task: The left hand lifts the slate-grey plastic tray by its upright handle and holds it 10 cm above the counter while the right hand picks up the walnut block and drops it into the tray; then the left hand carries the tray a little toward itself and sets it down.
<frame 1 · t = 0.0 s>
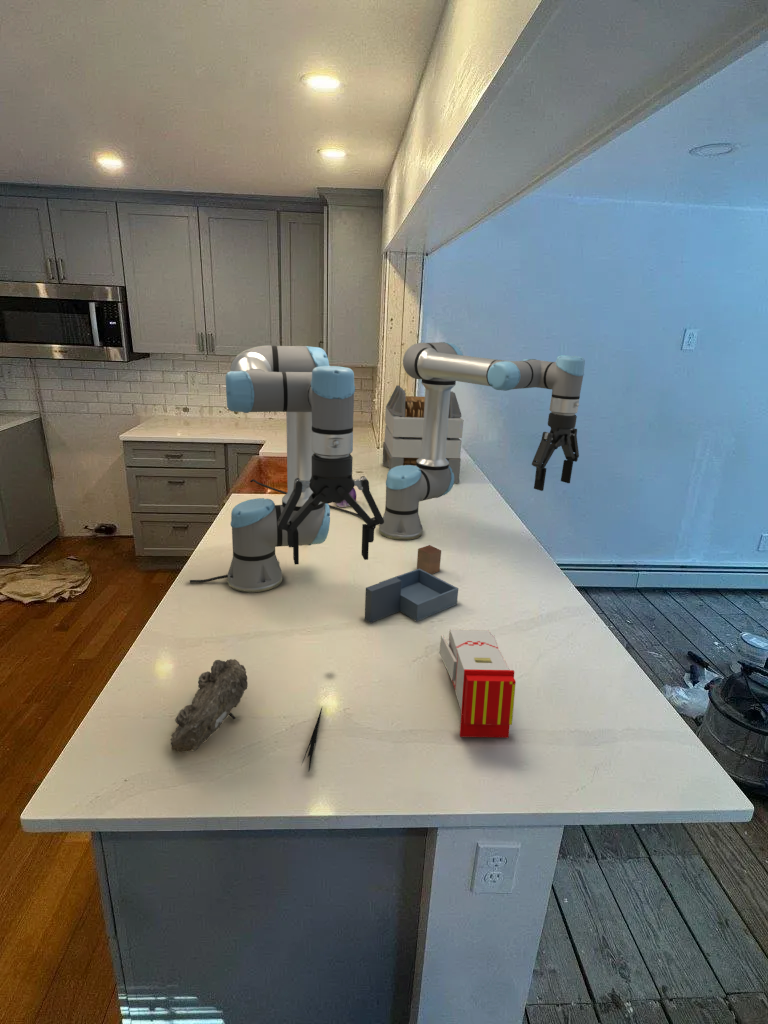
left hand: (330, 559, 111), 28 cm above the counter, fingers open, 13 cm apart
right hand: (552, 485, 166), 28 cm above the counter, fingers open, 13 cm apart
figurine: (345, 504, 227), on the counter
toy: (471, 691, 119), on the counter
figurine character: (293, 536, 193), on the counter
grey slatted box: (418, 473, 275), on the counter
block: (428, 570, 173), on the counter
fossil: (215, 716, 108), on the counter
feather: (319, 719, 109), on the counter
tray: (417, 601, 154), on the counter
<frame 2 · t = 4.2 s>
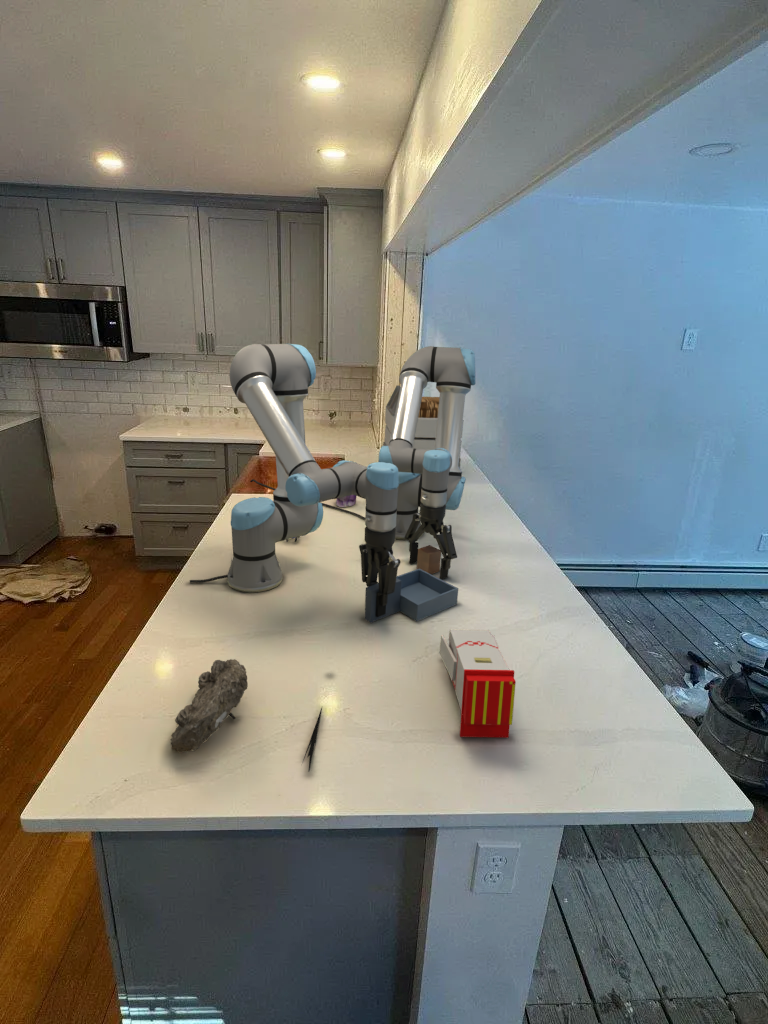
left hand: (376, 612, 145), 2 cm above the counter, fingers closed on tray, 2 cm apart
right hand: (428, 570, 173), 0 cm above the counter, fingers open, 12 cm apart
tray: (417, 601, 154), on the counter, touching left hand
everything else where it was.
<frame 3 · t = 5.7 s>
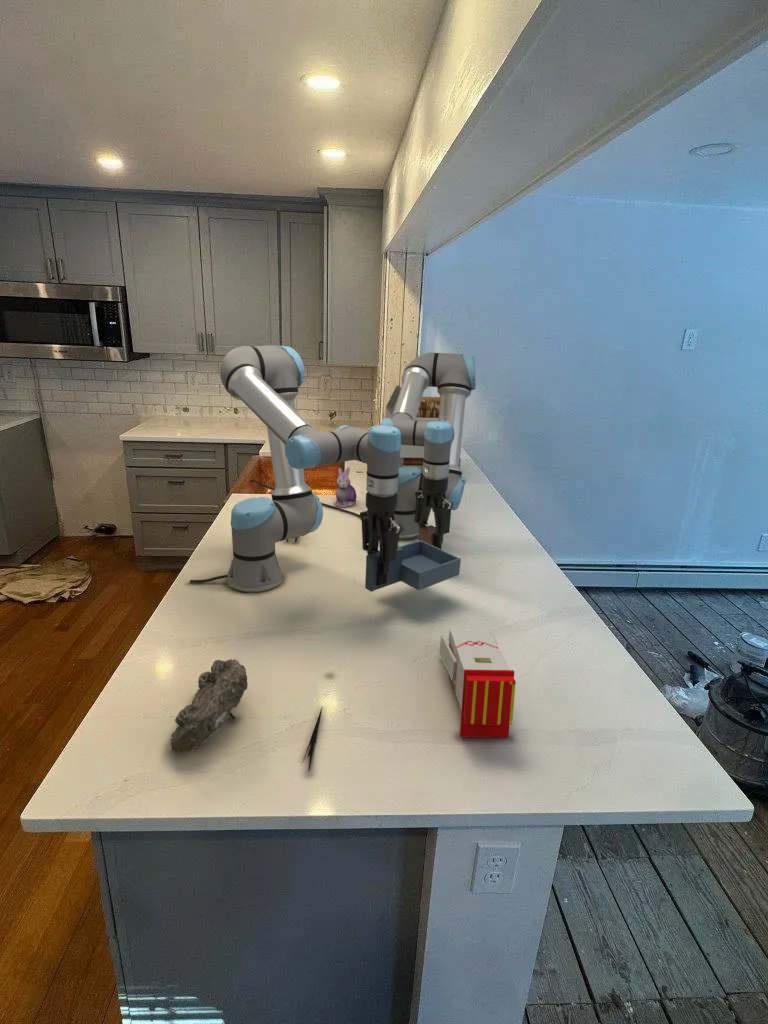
left hand: (377, 581, 142), 10 cm above the counter, fingers closed on tray, 2 cm apart
right hand: (429, 549, 171), 7 cm above the counter, fingers closed on block, 5 cm apart
block: (429, 550, 171), point 6 cm above the counter, touching right hand
tray: (418, 571, 152), point 9 cm above the counter, touching left hand
everything else where it was.
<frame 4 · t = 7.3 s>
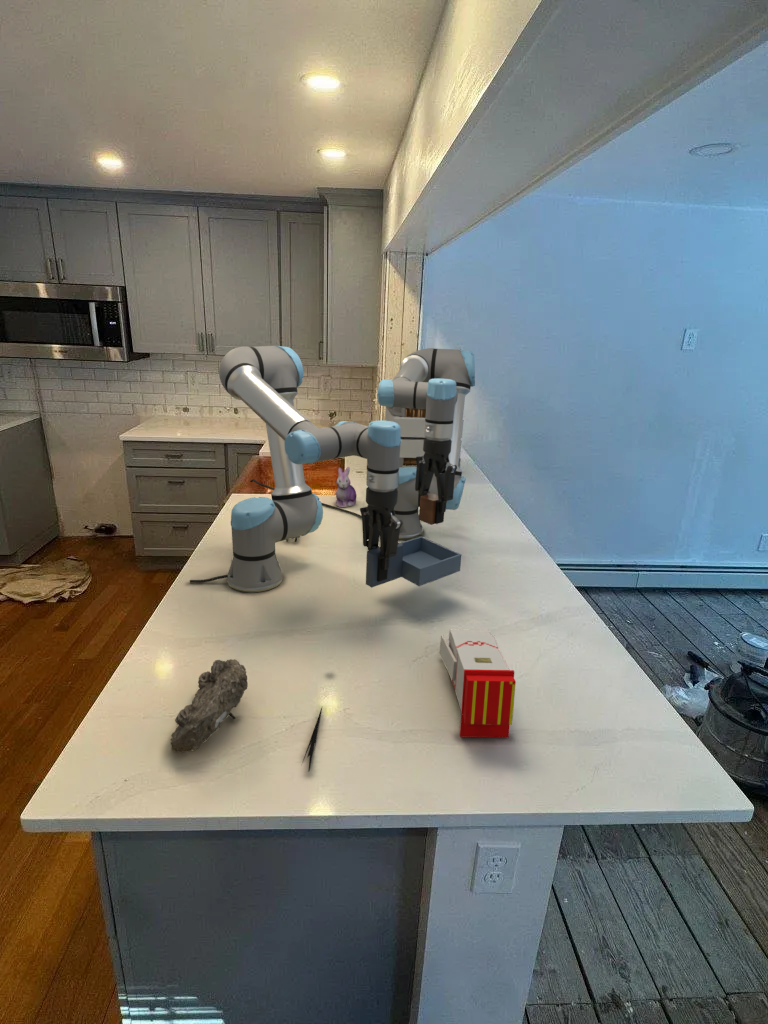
left hand: (378, 577, 142), 11 cm above the counter, fingers closed on tray, 2 cm apart
right hand: (431, 519, 159), 19 cm above the counter, fingers closed on block, 5 cm apart
block: (431, 520, 159), point 19 cm above the counter, touching right hand
tray: (419, 568, 151), point 10 cm above the counter, touching left hand
everything else where it was.
when the right hand's fingers open (15 cm above the counter, at t = 9.3 s): block drops 4 cm, resting on tray.
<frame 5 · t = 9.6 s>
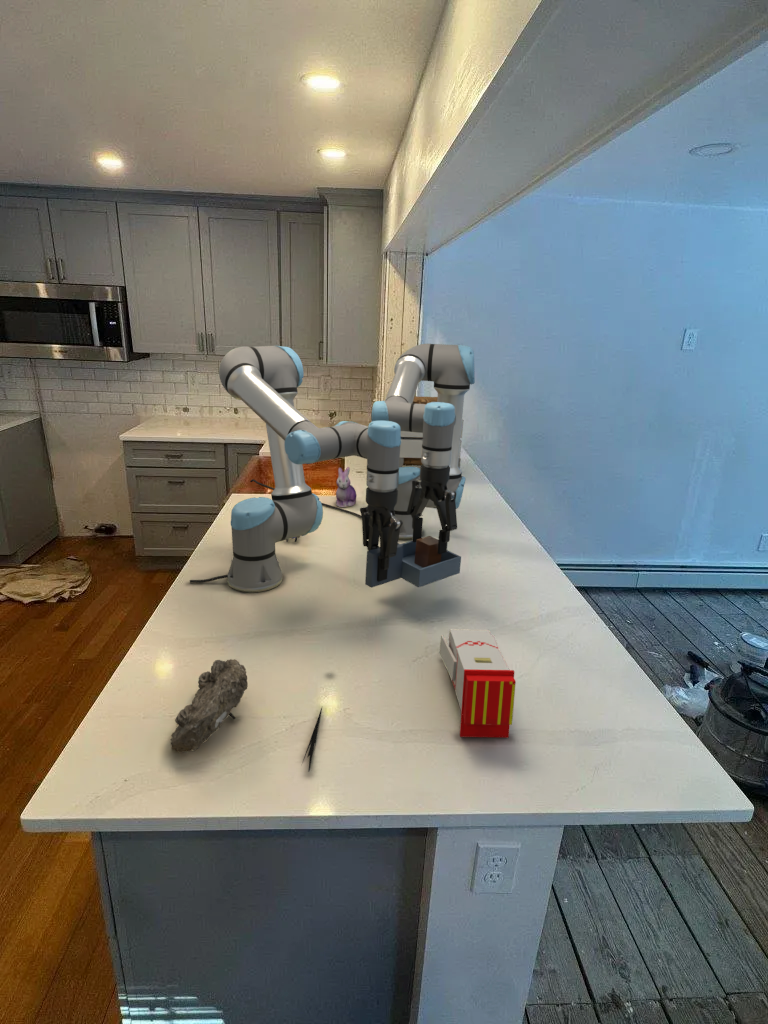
left hand: (378, 577, 142), 11 cm above the counter, fingers closed on tray, 2 cm apart
right hand: (429, 546, 151), 15 cm above the counter, fingers open, 9 cm apart
block: (427, 564, 153), point 10 cm above the counter, touching tray
tray: (419, 569, 151), point 10 cm above the counter, touching block, left hand
everything else where it was.
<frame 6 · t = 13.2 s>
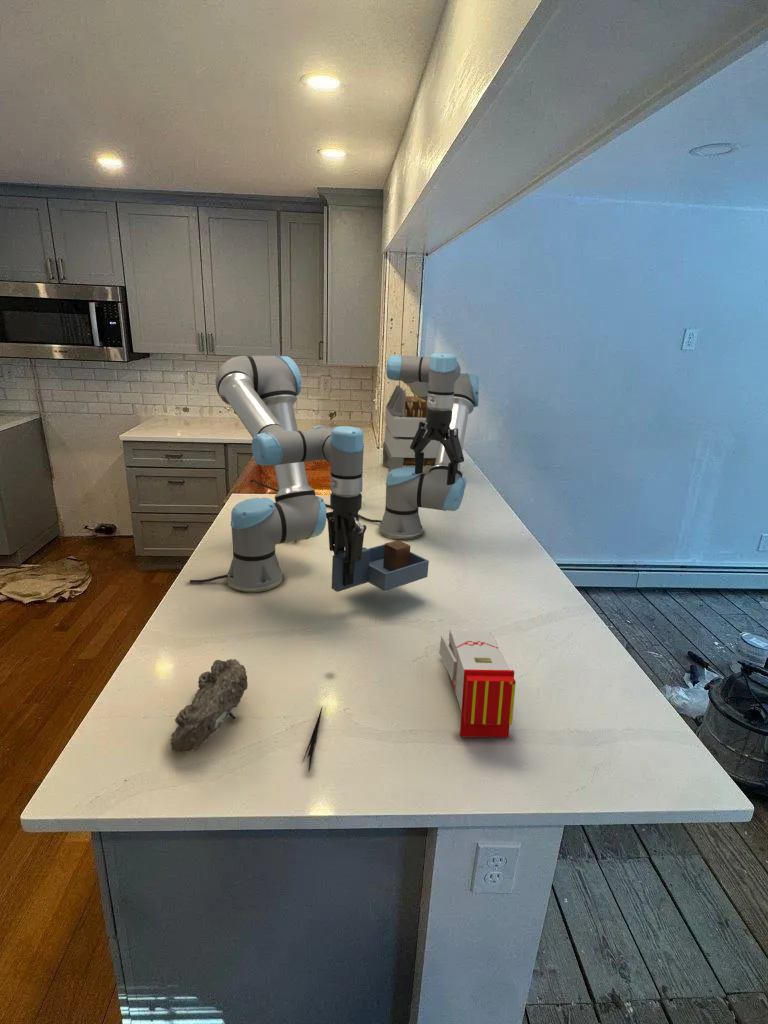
left hand: (344, 581, 143), 10 cm above the counter, fingers closed on tray, 2 cm apart
right hand: (434, 478, 172), 27 cm above the counter, fingers open, 13 cm apart
block: (395, 568, 154), point 8 cm above the counter, touching tray
tray: (387, 573, 152), point 8 cm above the counter, touching block, left hand
everything else where it was.
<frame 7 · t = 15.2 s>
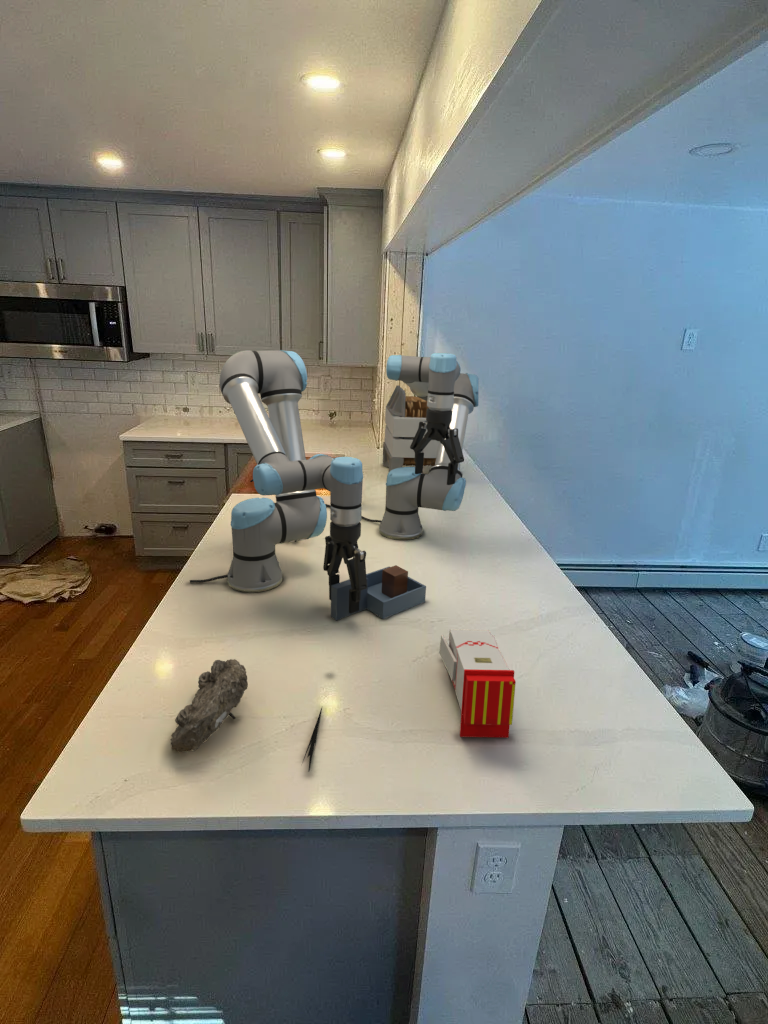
left hand: (343, 604, 145), 3 cm above the counter, fingers open, 8 cm apart
right hand: (434, 478, 172), 27 cm above the counter, fingers open, 13 cm apart
block: (394, 593, 156), point 1 cm above the counter, touching tray
tray: (385, 598, 155), on the counter, touching block
everything else where it was.
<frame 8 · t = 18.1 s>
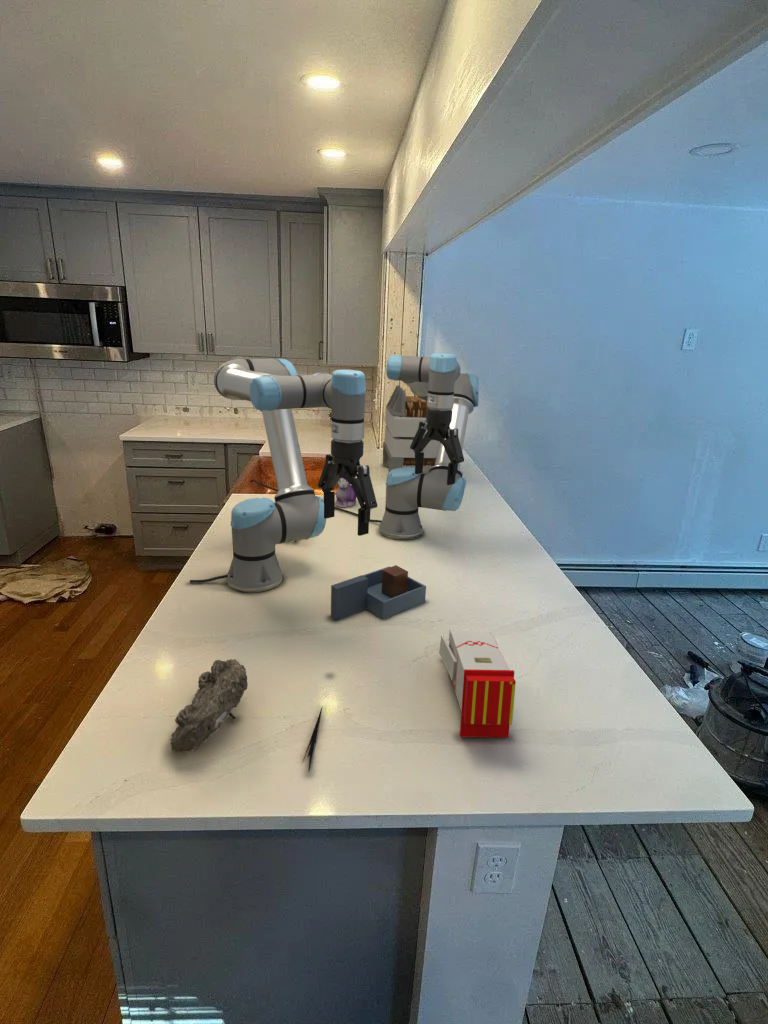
left hand: (345, 525, 137), 25 cm above the counter, fingers open, 13 cm apart
right hand: (434, 478, 172), 27 cm above the counter, fingers open, 13 cm apart
nothing on the counter moved.
at the end: block inside the target area on the tray (2.9 cm from its centre), point 0.8 cm above the tray's base; tray inside the target area (0.2 cm from its centre), on the counter; the left hand is holding nothing; the right hand is holding nothing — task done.
